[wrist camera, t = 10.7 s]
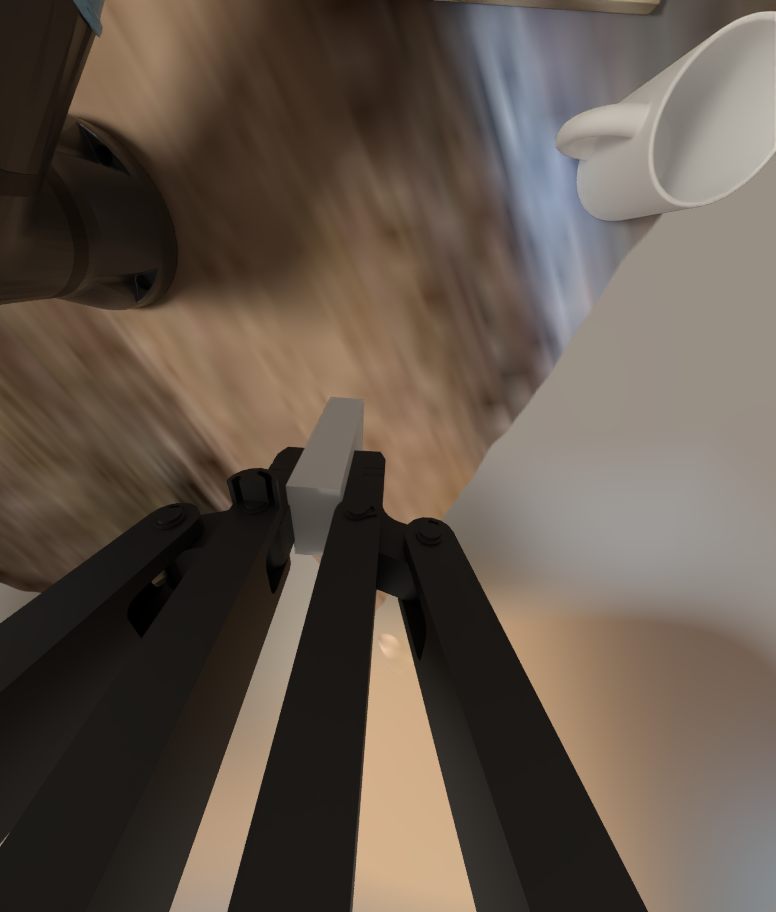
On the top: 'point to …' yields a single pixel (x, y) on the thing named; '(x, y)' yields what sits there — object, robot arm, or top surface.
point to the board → (579, 4)
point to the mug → (682, 129)
